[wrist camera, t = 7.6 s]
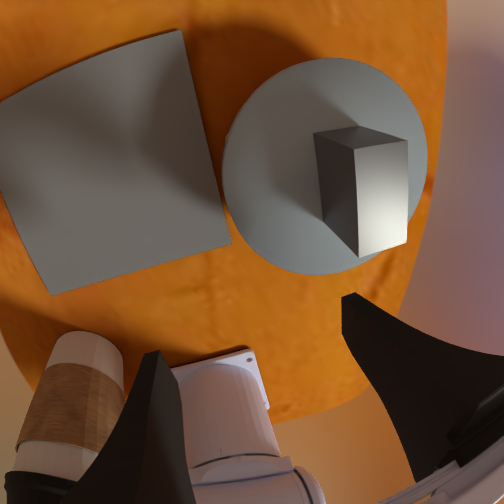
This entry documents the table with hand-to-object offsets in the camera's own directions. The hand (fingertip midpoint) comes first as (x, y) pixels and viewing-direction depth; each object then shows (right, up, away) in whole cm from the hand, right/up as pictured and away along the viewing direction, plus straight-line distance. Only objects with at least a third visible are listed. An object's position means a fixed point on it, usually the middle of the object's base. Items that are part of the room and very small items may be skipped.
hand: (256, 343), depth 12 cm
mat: (-9, +8, +4) cm, 13 cm away
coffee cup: (-13, -5, +11) cm, 18 cm away
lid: (+4, +7, +3) cm, 9 cm away
